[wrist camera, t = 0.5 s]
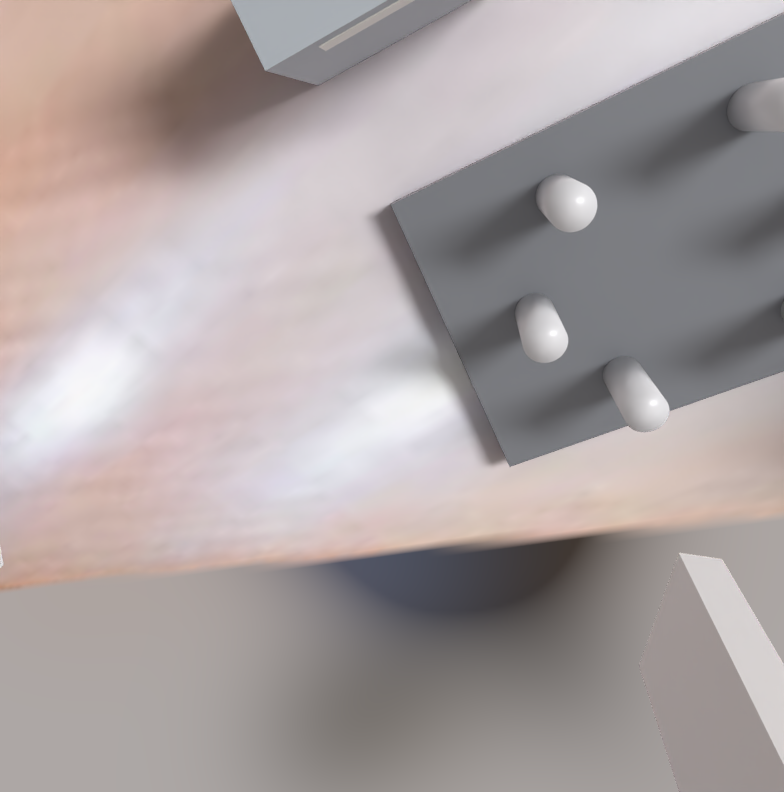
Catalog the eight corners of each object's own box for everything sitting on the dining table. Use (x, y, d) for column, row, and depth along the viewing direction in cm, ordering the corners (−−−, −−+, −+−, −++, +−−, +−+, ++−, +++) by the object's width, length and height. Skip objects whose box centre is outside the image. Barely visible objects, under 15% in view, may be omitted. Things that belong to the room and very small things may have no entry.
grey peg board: (393, 202, 33) (377, 217, 27) (907, -48, 27) (1025, -95, 21) (508, 456, 38) (515, 515, 32) (965, 295, 32) (1074, 332, 26)
